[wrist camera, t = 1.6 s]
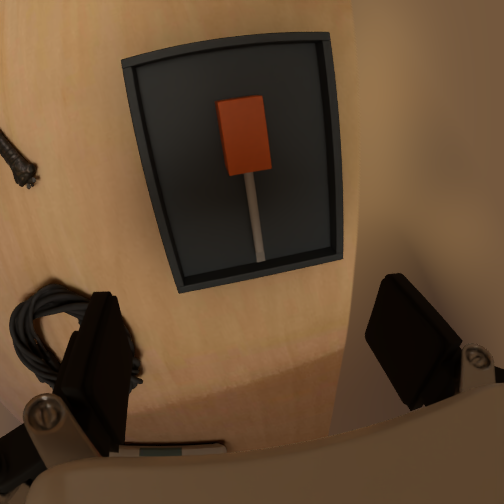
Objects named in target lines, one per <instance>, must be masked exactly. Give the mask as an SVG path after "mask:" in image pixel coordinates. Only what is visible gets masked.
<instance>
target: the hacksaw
mask: <svg viewBox="0 0 504 504" xmlns="http://www.w3.org/2000/svg"><path fill="white" fill-rule="evenodd" d="M0 154H1V156H2V157H3V158H4V160H5V161H6V162H7V164H8V165H9V166H10V168H11V170H12V172H13V175H14V179H15V182H16V183H17V184H19V186H21V187H23V186H24V185H26V184H27V188H28V189H30V188H31V186H32V187H33V186H34V185H33V183H35V182H36V179H35V178H32V177H33V175H34V172H35V171H36V168H35V166H34V165H33V164H29V163H28V162H27V161H26V160H25V159H24V158H23V157H22V156H21V155H19V154H18V152H17V151H16V150H15V149H14V148H13V147H12V145H11V144H10V143H9V142H8V141H7V140H6V138H5V137H4V136H3V134H2V132H0ZM32 182H33V183H32ZM30 184H31V185H30Z"/></svg>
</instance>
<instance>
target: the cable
mask: <svg viewBox="0 0 504 504" xmlns="http://www.w3.org/2000/svg"><path fill="white" fill-rule="evenodd" d="M88 304H89V300H88V299H86V298H84V297H82V296H80V295H77V294H75V293H73V292H71V291H69V290H67V289H66V288H65V287H64V286H62V285H59V284H49V285H47V286H45V287H43V288H41V289H40V290H39V291H38V292H37V293H36V294H34V295H33V296H31V297H30V298H29V299H28V300H26V301H24V302H22V303H20V304H19V305H18V306H17V307H16V308H15V309H14V311H13V312H12V314H11V317H10V322H9V329H10V334H11V337H12V339H13V345H14V348H15V351H16V353H17V355H18V357H19V359H20V360H21V361H22V363H23V364H24V365H25V366H26V367H27V368H28V369H29V370H31V371H32V372H34V373H35V375H36V377H37V378H38V380H39V381H40V382H42V383H44V382H45V383H47V384H49V385H50V387H52V389H54V385H55V382H56V379H57V376H58V372H59V369H60V366H61V365H60V364H59V363H58V361H57V360H56V358H55V357H54V355H53V354H52V353H51V352H48V351H46V350H45V348H44V346H43V344H42V342H41V340H40V338H39V337H38V335H37V334H36V332H35V330H34V327H33V320H34V319H36V318H39V317H43V316H47V315H52V314H57V313H61V312H65V313H67V314H69V315H72V316H74V317H76V318H78V320H79V324H80V325H81V323H82V320H83V317H84V314H85V312H86V309H87V307H88ZM124 327H125V326H124ZM125 330H126V334H127V337H128V341H129V344H130V348H131V351H132V356H133V365H132V373H131V381H130V389H129V394H130V393H131V391H132V389H134V388H135V387H136V386H137V384H142V383H143V380H142V379H139V378H137V377H136V376H135V375H136V374H138V373H139V370H138V368H139V366H140V360H139V359H137V358H136V357H134V354H135V349H134V345H133V342H132V341H131V335H130V333H129V331H128V329H127V328H126V327H125ZM34 339H36V340H37V342H38V343H39V344H36V342H35V340H34Z"/></svg>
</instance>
